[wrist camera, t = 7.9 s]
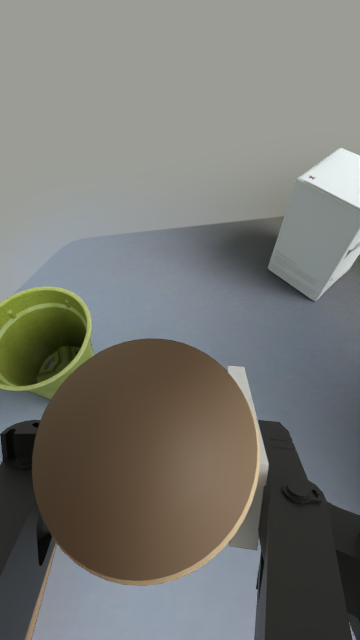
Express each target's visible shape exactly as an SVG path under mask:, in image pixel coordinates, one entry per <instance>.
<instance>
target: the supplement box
mask: <svg viewBox="0 0 360 640" xmlns="http://www.w3.org/2000/svg"><path fill="white" fill-rule="evenodd" d="M359 254H360V156H359V155H356V154H354V153H352V152H349V151H347V150H344V149H343V148H340V149H338V150H336V151H335V152H334V153H333V154H331V155H329V156H328V157H327V158H325V159H324V160H322V161H321V162H319V163H318V164H316V165H315V166H314V167H312V168H311V169H310V170H308V171H307V172H306V173H304V174H302V175H301V176H299V177H298V178H297V180H296V183H295V186H294V189H293V192H292V195H291V198H290V201H289V204H288V207H287V210H286V213H285V216H284V219H283V222H282V225H281V228H280V232H279V235H278V238H277V241H276V244H275V247H274V250H273V253H272V256H271V259H270V262H269V265H268V269H269V270H270V271H272V272H273V273H274V274H276V275H277V276H279V277H280V278H282V279H283V280H284V281H286V282H287V283H289V284H290V285H291V286H293V287H294V288H296V289H297V290H299V291H300V292H301V293H303V294H304V295H306V296H307V297H309V298H310V299H312V300H313V301H317V300H318V299H319V298H320V296H321V295H322V294H323V293H324V292H325V291H326V290H327V289H328V288H329V287H330V286H331V285H332V284H333V283H334V282H336V281H337V280H338V279H339V278H340V277H341V276H342V275H343V274H344V273H346V272H347V271H348V270H349V269H350V267H351V266H352V264H353V263H354V261H355V260H356V258H357V257H358V255H359Z"/></svg>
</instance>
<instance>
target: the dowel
mask: <svg viewBox="0 0 360 640" xmlns="http://www.w3.org/2000/svg"><path fill="white" fill-rule="evenodd" d="M259 470H260V443H259V435H258V430H257V425H256V421H255V418H254V415H253V412H252V409H251V407H250V405H249V403H248V401H247V398H246V396H245V394H244V393H243V391H242V390H241V388H240V387H239V385H238V384H237V382H236V381H235V380H234V379H233V378H232V376H231V375H230V374H229V373H228V372H227V371H226V370H225V369H224V368H223V367H222V366H221V365H220V364H219V363H218V362H217V361H215V360H214V359H213V358H211V357H210V356H208V355H207V354H205V353H204V352H202V351H200V350H198V349H196V348H194V347H192V346H189V345H187V344H184V343H180V342H176V341H173V340H165V339H139V340H133V341H128V342H124V343H121V344H117V345H114V346H112V347H110V348H107V349H105V350H103V351H101V352H99V353H97V354H96V355H94V356H92V357H91V358H89V359H88V360H87V361H85V362H84V363H83V364H81V365H80V366H79V367H78V368H76V369H75V370H74V371H73V372H72V373H71V374H70V375H69V376H68V377H67V378H66V380H65V381H64V382H63V383H62V384H61V385H60V387H59V388H58V390H57V391H56V392H55V394H54V395H53V397H52V398H51V400H50V402H49V404H48V406H47V408H46V409H45V411H44V414H43V416H42V419H41V421H40V424H39V427H38V430H37V434H36V437H35V442H34V448H33V455H32V479H33V488H34V493H35V497H36V502H37V505H38V508H39V510H40V513H41V516H42V518H43V521H44V522H45V524H46V526H47V528H48V530H49V531H50V533H51V535H52V537H53V539H54V540H55V541H56V542H57V544H58V545H59V546H60V548H61V549H62V550H63V552H64V553H66V554H67V555H68V556H69V557H70V558H71V559H72V560H73V561H74V562H75V563H76V564H78V565H79V566H81V567H82V568H84V569H85V570H87V571H88V572H90V573H91V574H94V575H96V576H98V577H100V578H103V579H105V580H108V581H112V582H116V583H120V584H124V585H137V586H145V585H154V584H161V583H165V582H169V581H172V580H176V579H179V578H181V577H183V576H185V575H187V574H189V573H192V572H194V571H195V570H197V569H198V568H200V567H201V566H203V565H204V564H206V563H207V562H209V561H210V560H211V559H212V558H213V557H215V556H216V555H217V554H218V553H219V552H220V551H221V550H222V549H223V548H224V547H225V546H226V545H227V543H228V542H229V541H230V540H231V539H232V537H233V536H234V535H235V534H236V532H237V530H238V529H239V527H240V526H241V524H242V522H243V521H244V519H245V517H246V515H247V512H248V510H249V508H250V506H251V503H252V501H253V497H254V494H255V491H256V487H257V482H258V476H259Z"/></svg>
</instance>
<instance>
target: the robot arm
mask: <svg viewBox="0 0 360 640" xmlns="http://www.w3.org/2000/svg"><path fill="white" fill-rule="evenodd" d="M227 372H228V373H229V374H230V375H231V376H232V378H233V379H234V380H235V381H236V382H237V384H238V385H239V387H240V388H241V390H242V391H243V393H244V394H245V396H246V398H247V401H248V403H249V405H250V407H251V409H252V412H253V415H254V418H255V421H256V425H257V430H258V435H259V443H260V470H259V476H258V482H257V487H256V491H255V494H254V497H253V501H252V503H251V506H250V508H249V510H248V512H247V515H246V517H245V519H244V521H243V522H242V524H241V526H240V527H239V529H238V530H237V532H236V534H235V535H234V536H233V537H232V539H231V540H230V541H229V546H231V547H238V548H245V549H252V550H257V547H258V539H260V545H261V557H260V564H259V571H258V578H257V585H256V589H258V593H257V608H256V623H255V639H254V640H352V636H351V630H350V625H351V627H352V630H353V632H354V635H355V637H356V640H360V516H359V515H357V514H354V513H351V512H349V511H346V510H343V509H341V508H338V507H336V506H334V505H332V504H330V503H329V502H327V501H326V499H325V497H324V494H323V492H322V491H321V490H320V489H319V488H318V487H317V486H316V485H315V484H313V483H312V482H310V481H309V480H308V479H307V476H306V474H305V471H304V469H303V466H302V464H301V461H300V459H299V457H298V454H297V452H296V451H295V447H294V444H293V443H292V439H291V437H290V434H289V432H288V430H287V429H286V428H284V427H283V426H282V425H281V424H280V423H279V422H272V421H262V420H257V416H256V412H255V408H254V404H253V400H252V396H251V392H250V388H249V384H248V380H247V376H246V372H245V368H244V367H239V366H228V368H227ZM39 424H40V420H31V421H24V422H21V423H17V424H14V425H13V426H11V427H9V428H7V429H6V430H4V431H3V432H2V433H1V434H0V435H1V445H2V455H3V462H2V463H1V465H0V640H25V637H26V634H27V631H28V628H29V624H30V621H31V618H32V615H33V612H34V609H35V606H36V603H37V600H38V596H39V593H40V590H41V587H42V584H43V581H44V578H45V575H46V572H47V568H48V565H49V562H50V559H51V556H52V553H53V550H54V547H55V544H56V541H55V540H54V539H53V537H52V535H51V533H50V531H49V530H48V528H47V526H46V524H45V522H44V521H43V518H42V516H41V513H40V510H39V508H38V505H37V502H36V497H35V493H34V488H33V479H32V455H33V448H34V442H35V437H36V434H37V430H38V427H39ZM349 622H350V625H349Z"/></svg>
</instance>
